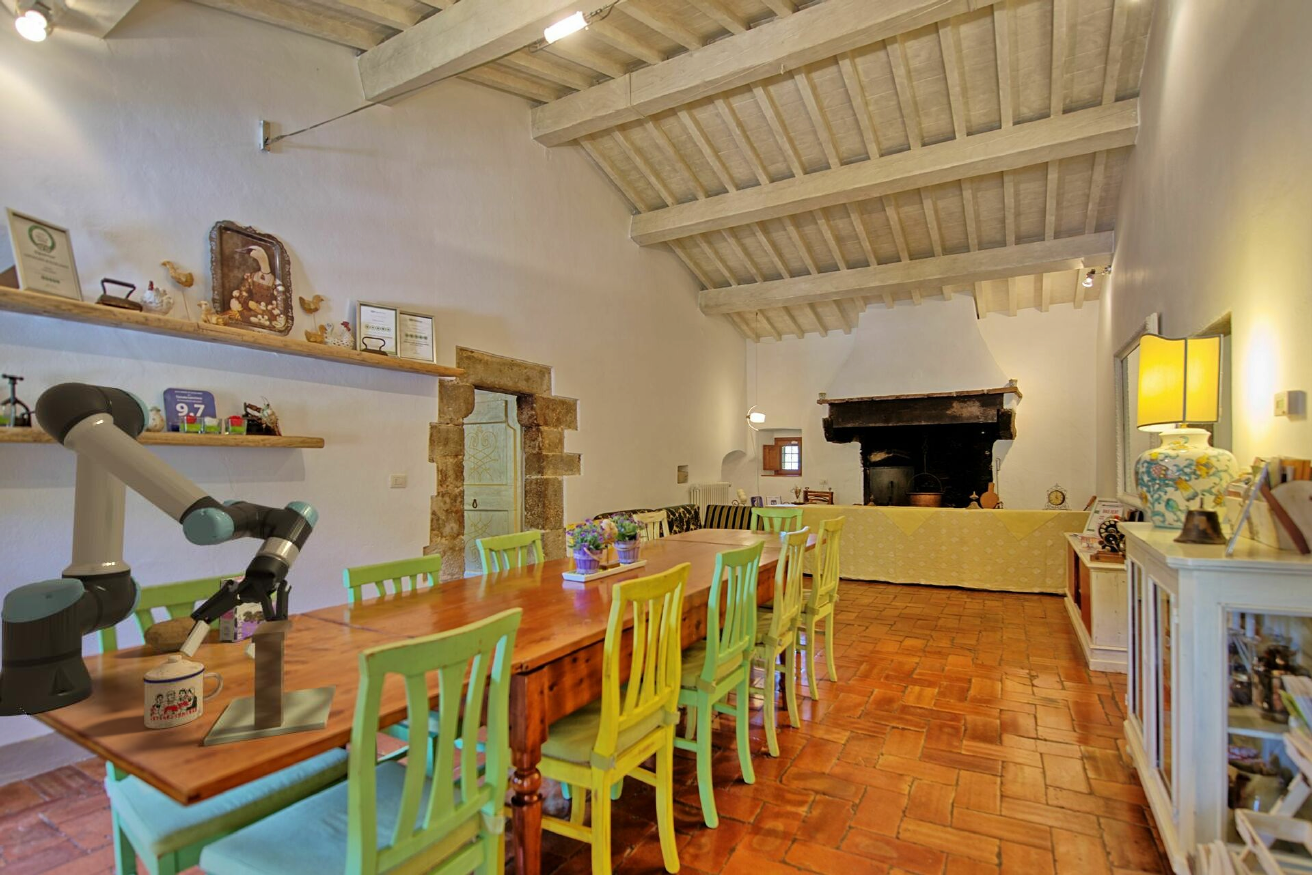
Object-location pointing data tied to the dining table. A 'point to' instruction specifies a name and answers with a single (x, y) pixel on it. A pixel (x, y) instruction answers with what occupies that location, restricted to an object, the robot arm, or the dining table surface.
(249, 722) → the stand
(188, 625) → the potato
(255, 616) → the candy box
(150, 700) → the teacup with lid
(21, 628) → the robot arm
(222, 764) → the dining table surface
